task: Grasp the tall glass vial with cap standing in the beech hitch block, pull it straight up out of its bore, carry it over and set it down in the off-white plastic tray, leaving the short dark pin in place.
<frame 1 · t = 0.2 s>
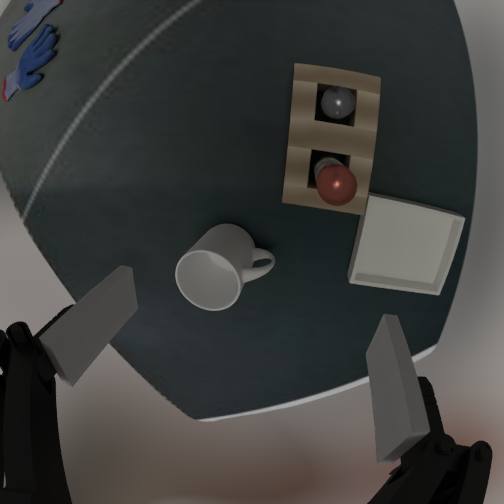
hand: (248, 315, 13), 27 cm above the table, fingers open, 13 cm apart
hitch block: (329, 137, 33), on the table
tray: (404, 242, 37), on the table
glass vial with cap: (325, 166, 35), resting in hitch block
mug: (240, 247, 43), on the table
pair of gloves: (33, 39, 32), on the table
short pin: (331, 109, 32), resting in hitch block
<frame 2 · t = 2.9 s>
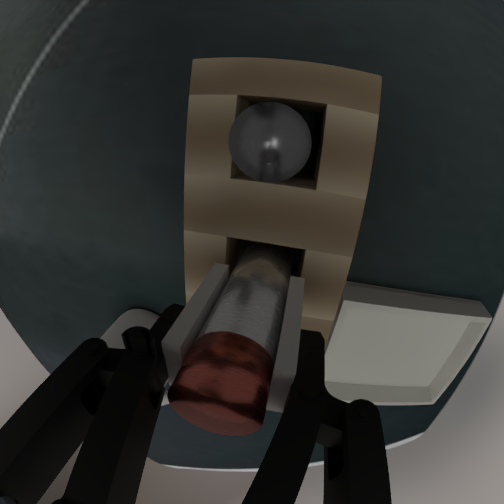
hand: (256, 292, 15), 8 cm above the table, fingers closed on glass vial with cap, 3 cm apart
hitch block: (280, 191, 20), on the table
tray: (396, 345, 24), on the table
glass vial with cap: (274, 240, 22), resting in hitch block, touching gripper
mug: (164, 336, 30), on the table
short pin: (286, 139, 18), resting in hitch block
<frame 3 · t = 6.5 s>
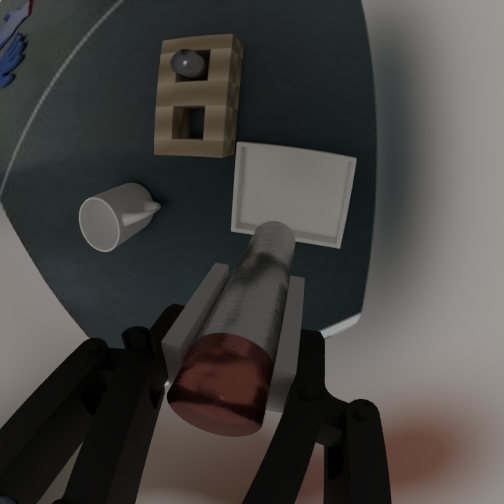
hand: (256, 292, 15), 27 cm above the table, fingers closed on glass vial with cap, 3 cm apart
hitch block: (206, 97, 35), on the table
tray: (292, 191, 39), on the table
glass vial with cap: (274, 241, 22), point 19 cm above the table, touching gripper
mug: (143, 204, 45), on the table
pair of gloves: (10, 45, 33), on the table
short pin: (208, 73, 34), resting in hitch block
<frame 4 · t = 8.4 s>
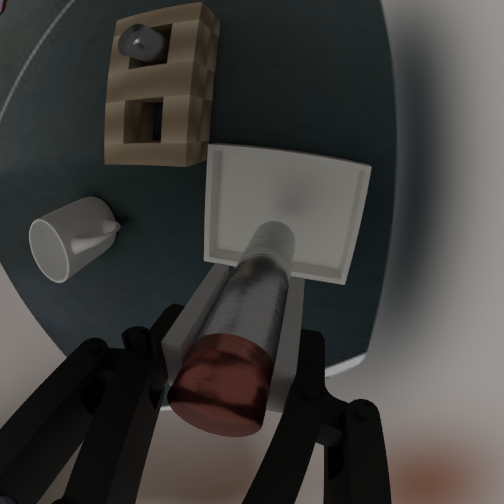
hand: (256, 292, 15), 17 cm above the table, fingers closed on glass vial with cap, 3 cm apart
hitch block: (172, 88, 26), on the table
tray: (283, 208, 30), on the table
glass vial with cap: (274, 241, 22), point 9 cm above the table, touching gripper
mug: (105, 221, 36), on the table
short pin: (176, 57, 24), resting in hitch block
when the fingers open (9 cm above the table, at t = 10.0 s): glass vial with cap stays where it is, resting on tray.
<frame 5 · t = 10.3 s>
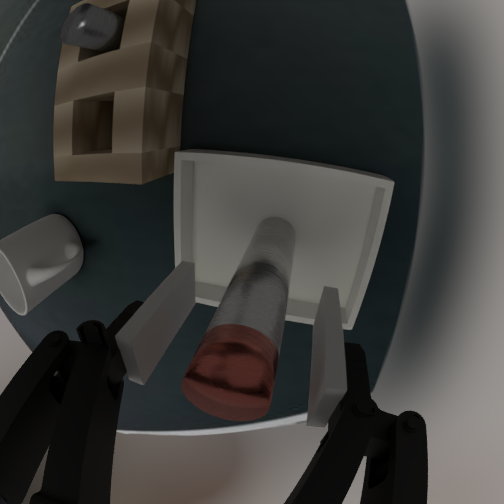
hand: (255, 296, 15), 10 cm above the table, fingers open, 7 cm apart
hitch block: (137, 82, 20), on the table
tray: (276, 233, 23), on the table
glass vial with cap: (275, 236, 23), point 1 cm above the table, touching tray
mug: (72, 242, 29), on the table
short pin: (142, 44, 18), resting in hitch block
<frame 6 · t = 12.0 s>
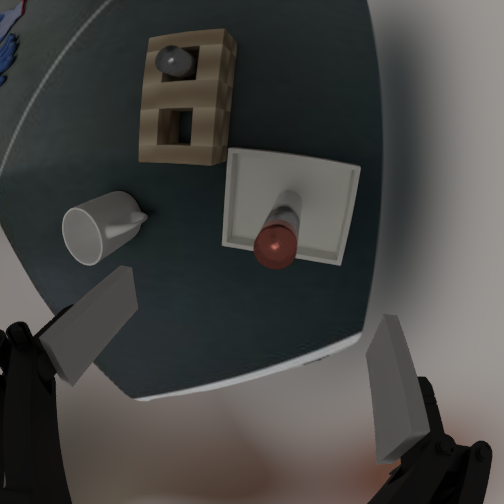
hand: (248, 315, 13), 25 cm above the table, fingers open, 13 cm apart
hitch block: (196, 99, 32), on the table
tray: (289, 202, 36), on the table
glass vial with cap: (289, 203, 35), point 1 cm above the table, touching tray
mug: (131, 213, 42), on the table
pair of gloves: (3, 46, 31), on the table
short pin: (199, 73, 31), resting in hitch block
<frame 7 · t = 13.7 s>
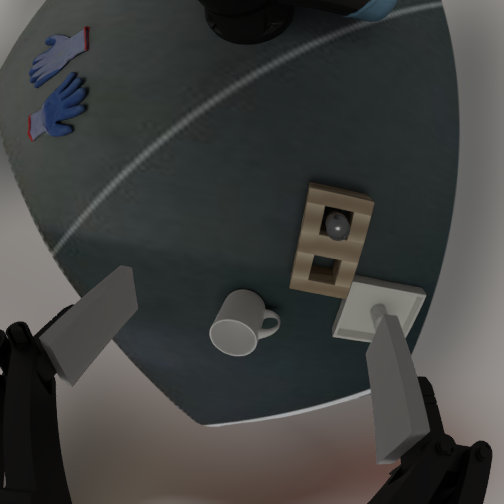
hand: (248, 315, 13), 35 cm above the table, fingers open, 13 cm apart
hitch block: (328, 234, 47), on the table
tray: (377, 308, 50), on the table
glass vial with cap: (377, 310, 50), point 1 cm above the table, touching tray
mug: (254, 305, 56), on the table
pair of gloves: (58, 81, 44), on the table
short pin: (333, 213, 45), resting in hitch block
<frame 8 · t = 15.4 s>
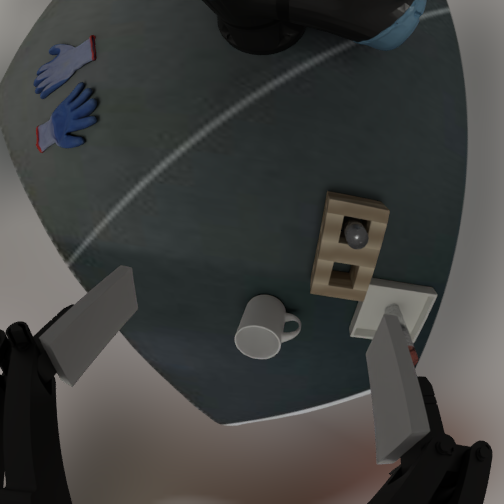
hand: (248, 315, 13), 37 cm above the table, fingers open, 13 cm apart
hitch block: (345, 240, 48), on the table
tray: (391, 308, 52), on the table
glass vial with cap: (392, 310, 51), point 1 cm above the table, touching tray
mug: (274, 309, 58), on the table
pair of gloves: (66, 92, 46), on the table
short pin: (349, 220, 47), resting in hitch block
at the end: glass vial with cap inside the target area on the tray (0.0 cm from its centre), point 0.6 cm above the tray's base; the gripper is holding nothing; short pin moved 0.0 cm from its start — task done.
